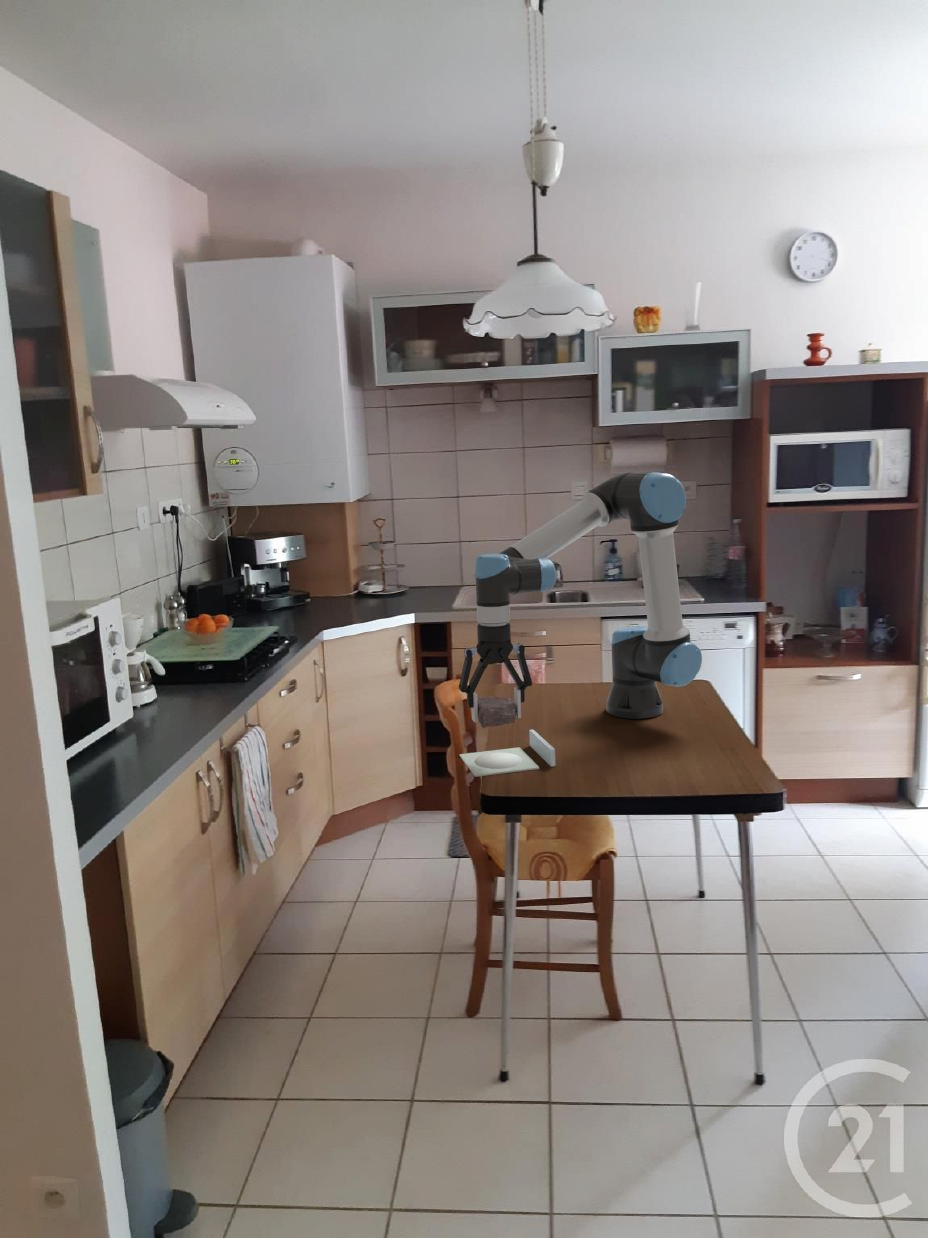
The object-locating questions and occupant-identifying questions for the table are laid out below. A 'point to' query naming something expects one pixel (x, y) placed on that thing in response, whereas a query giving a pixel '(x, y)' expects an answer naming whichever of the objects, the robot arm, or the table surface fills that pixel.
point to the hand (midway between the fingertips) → (496, 718)
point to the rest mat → (498, 761)
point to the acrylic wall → (542, 747)
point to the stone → (496, 711)
